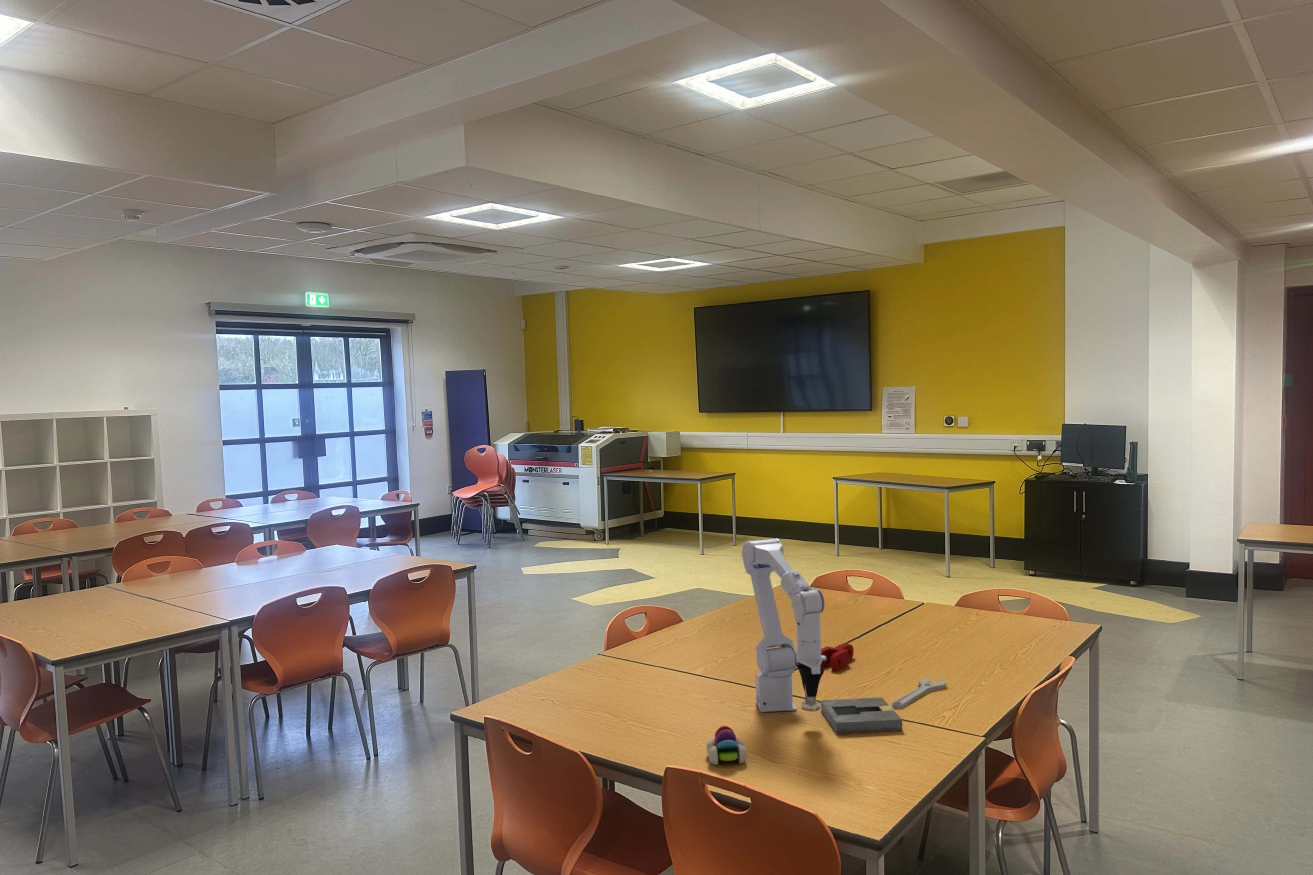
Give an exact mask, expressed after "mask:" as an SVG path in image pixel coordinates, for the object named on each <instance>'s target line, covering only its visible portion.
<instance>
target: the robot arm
mask: <svg viewBox="0 0 1313 875" xmlns="http://www.w3.org/2000/svg"><path fill="white" fill-rule="evenodd" d="M784 555H785V554H784V546H783V544H782V542H781V540H779V538H778V537H776V538H775V537H774V538H771V539H761V540H751V541H750V540H746V541H745V542H744V544H742V549H741V557H742V561H743V567H744V570H745V573H746V574H747V575H749V576H750V579H751V583H752V588H753V594H754V598H755V602H756V606H757V612H758V616H759V621H760V625H761V631H762V635H763V637H762V638H761V639H760V641H759V642H758V643H757V644H756V646H755V651H756V665H757V668H758V670H759V671H760V672H761V673H756V674H755V692H756V693H755V696H756V697H755V699H756V700H755V703H756V705H757V707H758V709H759V711H760V713H767V712H768V713H769V712H787V711H797V706H796V704H795V703H794V702H793V701H794V700H793V676H792V675H793V674H795V670H796V669H798V672H799V675H800V679H801V682H802V688H803V691H804V693H805V688H806V693H807V696H808V697H816V698H817V694H818V691H819V685H820V681H821V679H822V677H823V675H824V672H825V670H824V667H823V668H820V665H821V662H822V661H823V660H826V657H825V656H824V655H821V649H822V643H821V642H822V639H821V638H822V635H821V613H823V611H824V610H825V605H826V604H825V597H824V595H823V592H821V589H819V588H815V587H811V585H809V583H808V582H807V581H806V579H805V577H803V575H802V573H800V571H797V570H794V569H792V566H790V564H789V562H788V560H787V559H786V557H785V556H784ZM773 572H775V574H776V575H777V576H778V577H779V578H780V579H781V580H780V586H781V588H782V589H783V590H784V592H785V593H786V595H787V596H788V597H789V599H790V600H791V601H790V602H791V608H792V610H793V618H794V621H795V622H796V643H797V645H796V646H797V647H795V644H794V641H793V639H791V638H790V637H789V636H787V635H785V634H784V633H783V631H782V630H783V629H782V626H781V620H780V617H779V612H778V608H777V604H776V598H775V595H774V589H773V586H772V580H771V574H772V573H773ZM796 649H797V650H796Z"/></svg>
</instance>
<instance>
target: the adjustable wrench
mask: <svg viewBox="0 0 1313 875" xmlns="http://www.w3.org/2000/svg"><path fill="white" fill-rule="evenodd" d="M946 688H947V681H945V680H943V679H940V682H939V681H938V682H931V679H930V678H926V679H925V678H924V679H922V680H920V681H918V688H916V689H914V690H912V691H910V692H909V693H907V694H904V695H903V696H901V697H900V698H898V699H896V700H894V701H892V702H891V708H892V709H894V710H900V709H903V708H904V707H907V706H908V705H910V704H911V703H913V702H915V701H916V700H918V699H920V698H922V697H923V696H925V695H926V694H928V693H930V692H935V691H940V690H941V691H942V690H945V689H946Z"/></svg>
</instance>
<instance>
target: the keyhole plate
mask: <svg viewBox="0 0 1313 875" xmlns="http://www.w3.org/2000/svg"><path fill="white" fill-rule="evenodd" d="M820 712H821V713H822V715H823V717H824V718H825V719H826V721H827V722H828V724H829V725H830V727H831V728H832V730H833V731H834V733H835V734H836V735H845V734H846V735H849V734H867V733H870V734H872V733H886V732H888V733H889V732H903V719H902V717H901V716H900V715H899V714H898V713H897V712H896V711H895V709H894V708H893V707H892V706H890V705H889V704H888V702H886V701H885V699H884V697H882V696H880V697H879V696H878V697H861V698H843V699H842V698H841V699H823V700H820Z"/></svg>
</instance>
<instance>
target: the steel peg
mask: <svg viewBox="0 0 1313 875" xmlns="http://www.w3.org/2000/svg"><path fill="white" fill-rule="evenodd" d="M801 710H803V711H806V712H816V711H820V710H821V702H819V701H817V696H816V697H808V696H807V693H806V688H805V692H804V700H803V701H801Z"/></svg>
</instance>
